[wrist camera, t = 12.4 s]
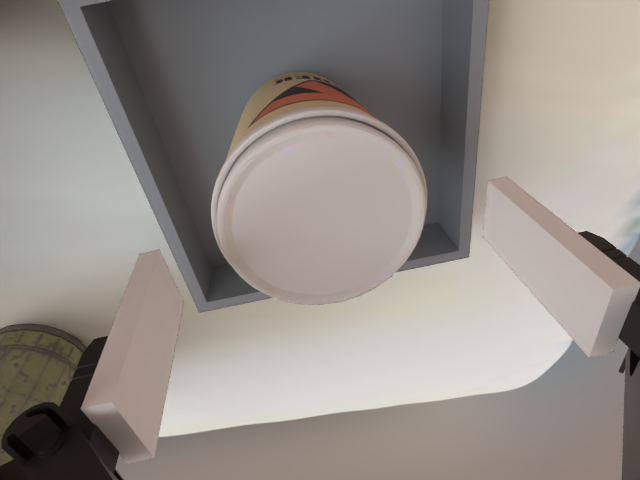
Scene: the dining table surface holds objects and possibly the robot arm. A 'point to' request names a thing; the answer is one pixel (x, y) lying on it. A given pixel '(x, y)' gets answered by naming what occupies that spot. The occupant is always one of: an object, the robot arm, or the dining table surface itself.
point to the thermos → (33, 370)
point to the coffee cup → (316, 194)
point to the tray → (264, 64)
